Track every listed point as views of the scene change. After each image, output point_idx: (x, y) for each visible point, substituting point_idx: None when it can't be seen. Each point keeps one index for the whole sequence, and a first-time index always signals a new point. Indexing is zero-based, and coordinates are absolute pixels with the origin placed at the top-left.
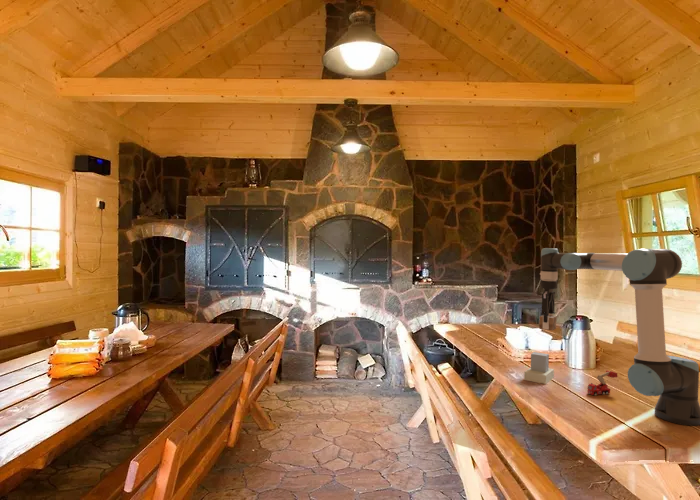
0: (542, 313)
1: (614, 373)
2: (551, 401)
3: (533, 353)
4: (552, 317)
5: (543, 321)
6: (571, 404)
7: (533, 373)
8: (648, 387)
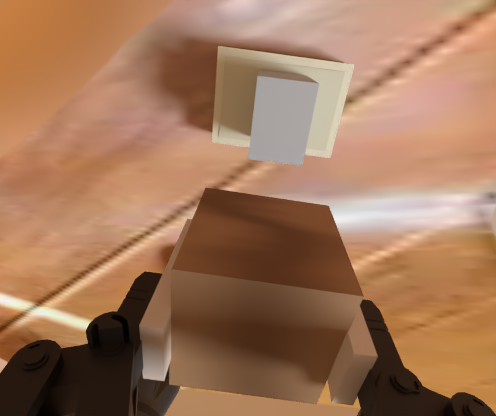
0: (17, 365)
1: None
2: (48, 171)
3: (274, 88)
4: (199, 381)
5: (167, 271)
6: (68, 218)
7: (215, 90)
8: None
